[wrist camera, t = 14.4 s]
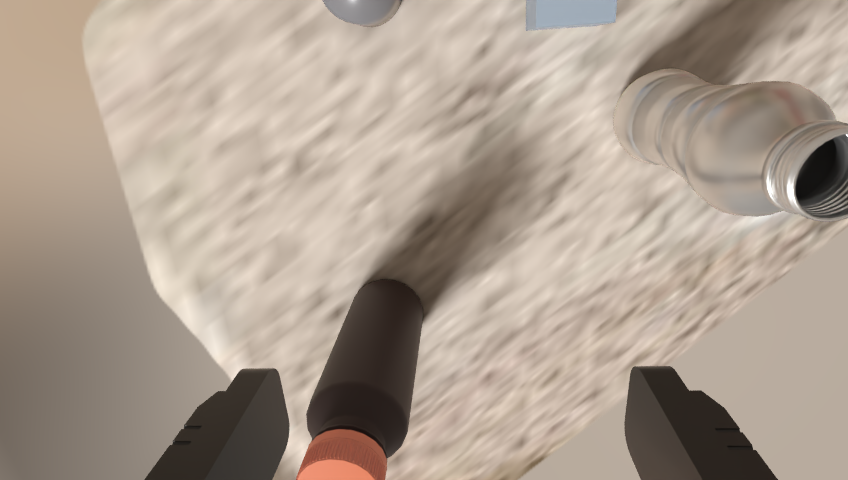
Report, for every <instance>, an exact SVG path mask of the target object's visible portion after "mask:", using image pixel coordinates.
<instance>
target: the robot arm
mask: <svg viewBox="0 0 848 480" xmlns="http://www.w3.org/2000/svg"><path fill="white" fill-rule="evenodd" d="M739 429H740V428H739V427H738V426H737V424H736V423H735V422H734V420H733V419H732V418H731V416H730V415H729V414H728V412H727V411H726V410H725V408H724V407H722V406H721V405H720V404H718V403H717V402H716V401H714V400H713V399H712V398H710V397H709V396H708V395H706V394H705V393H704V392H702V391H689V390H688V389H687V387H686V386H685V384H684V383H683V381H682V380H681V378H680V377H679V375H678V374H677V372H676V371H675V370H674V369H673V368H672V367H670V366H640V367H633V368H632V370H631V374H630V382H629V390H628V398H627V406H626V415H625V436H626V442H627V446H628V449H629V452H630V455H631V457H632V460H633V462H634V464H635V467H636V469H637V471H638V474H639V476H640V478H641V480H778V479H777V478H776V477H775V475H774V474H773V473H772V471H771V470H770V469H769V467H768V466H767V465H766V463H765V462H764V461H763V459H762V458H761V457H760V455H759V454H758V452H757V451H756V450H753V447H752V444H751V443H750V442H749V440H748V439H747V438H746V436H745V435H744V434H743V433H741V432H740V430H739ZM288 437H289V418H288V413H287V409H286V404H285V399H284V394H283V390H282V385H281V380H280V376H279V373H278V371H277V370H276V369H274V368H273V369H242V370H241V371H239V373H238V374H237V375H236V377H235V378H234V380H233V381H232V383H231V384H230V386H229V387H228V389H227V390H226V391H218V392H217V393H215V394H214V395H213V396H211V397H210V398H209V399H208V400H206V401H205V402H204V403H203V404H201V405H200V406H199V407H197V409H196V410H195V412H194V413H193V414H192V416H191V417H190V418H189V420H188V421H187V423H186V424H185V425H184V429H181V431H180V432H179V433H178V435H177V436H176V438H175V439H174V440H173V444H172V445H170V446H169V447H168V448H167V450H166V451H165V452H164V454H163V455H162V457H161V458H160V459H159V461H158V462H157V463H156V465H155V466H154V467H153V469H152V470H151V472H150V473H149V474H148V476H147V477H146V478H145V480H272V479H273V477H274V474H275V472H276V470H277V467H278V465H279V463H280V461H281V458H282V456H283V454H284V451H285V449H286V446H287V442H288Z"/></svg>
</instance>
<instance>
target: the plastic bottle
mask: <svg viewBox="0 0 848 480" xmlns="http://www.w3.org/2000/svg"><path fill="white" fill-rule="evenodd" d="M613 126H614V131H615V134H616V137H617V139H618V141H619V143H620V144H621V146H622V147H623V149H624V150H625V151H626V152H627V153H628V154H629V155H630V156H632V157H633V158H635V159H637V160H639V161H643V162H647V163H651V164H655V165H662V166H665V167H668V168H671V169H672V170H673V171H675V172H676V173H677V174H679V175H680V176H681V177H683V179H684V180H685V181H686V182H687V183H688V184H689V185H690V186H691V188H692V189H693V190H694V191H695V192H696V193H697V194H698V195H699V196H700V197H701V198H702V199H704V200H705V201H706V202H707V203H709V204H710V205H711V206H712V207H714V208H716V209H718V210H720V211H722V212H725V213H729V214H733V215H742V216H765V215H771V214H774V213H777V212H781V211H786V212H789V213H793V214H799V215H801V216H804V217H806V218H808V219H812V220H816V221H823V222H831V221H839V220H842V219H846V218H848V124H846V123H843V122H839V121H837V120H836V117H835V115H834V113H833V111H832V110H831V108H830V106H829V105H828V104H827V103H826V102H825V101H824V100H822V99H821V98H820V97H819V96H818V95H816V94H815V93H814V92H812V91H811V90H809V89H807V88H805V87H803V86H801V85H798V84H795V83H791V82H781V81H762V82H754V83H747V84H739V85H714V84H711V83H708V82H705V81H703V80H702V79H701V78H699V77H697V76H695V75H694V74H691V73H689V72H687V71H684V70H680V69H673V68H667V69H661V70H657V71H654V72H651V73H648V74H646V75H643V76H641V77H640V78H638V79H636V80H635V81H634V82H633V83H631V84H630V85H629V86H628V87H627V88H626V90H625V91H624V92H623V93H622V95H621V97H620V98H619V100H618V102H617V105H616V108H615V112H614V117H613Z"/></svg>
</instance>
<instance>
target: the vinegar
mask: <svg viewBox="0 0 848 480" xmlns="http://www.w3.org/2000/svg"><path fill="white" fill-rule="evenodd" d="M422 321H423V308H422V305H421V302H420V299H419V298H418V296H417V295H416V294H415V292H414V291H413V290H412V289H410V288H409V287H408V286H406V285H405V284H403V283H400V282H397V281H394V280H378V281H374V282H371V283H369V284H367V285H366V286H364V287H362V288H361V289H360V291H359V292H358V293H357V294H356V296H355V297H354V300H353V302H352V305H351V307H350V309H349V312H348V314H347V316H346V319H345V321H344V323H343V326H342V328H341V330H340V333H339V335H338V337H337V340H336V342H335V345H334V347H333V349H332V352H331V354H330V356H329V359H328V361H327V363H326V366H325V368H324V370H323V373H322V375H321V378H320V380H319V382H318V385H317V387H316V389H315V392H314V394H313V396H312V399H311V401H310V404H309V407H308V410H307V414H306V415H307V427H308V431H309V433H310V435H311V437H312V441H311V443H310V444H309V447H308V449H307V452H306V454H305V457H304V459H303V462H302V464H301V467H300V470H299V472H298V475H297V477H296V480H385V476H386V470H387V458H388V457H390V456H392V455H393V454H394V453H395V452H396V451H397V450H398V449H399V448H400V447H401V446H402V444H403V441H404V439H405V437H406V435H407V432H408V425H409V417H410V410H411V402H412V395H413V388H414V380H415V373H416V365H417V358H418V350H419V343H420V336H421V328H422Z"/></svg>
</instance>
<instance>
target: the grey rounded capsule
mask: <svg viewBox="0 0 848 480" xmlns="http://www.w3.org/2000/svg"><path fill="white" fill-rule="evenodd" d="M323 2H324V4H325V5H326V7H327V8H328V9H329V10H330V11H331V13H333V14H334V15H335V16H336V17H338V18H339V19H341V20H343V21H346V22H349V23H353V24H357V25H361V26H365V27H376V26H380V25H382V24H384V23H386V22H387V21H389V20H390V19H391V18H392V17H393V16H394V15H395V13H396V12H397V10H398V8H399V6H400V3H401V0H323Z"/></svg>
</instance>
